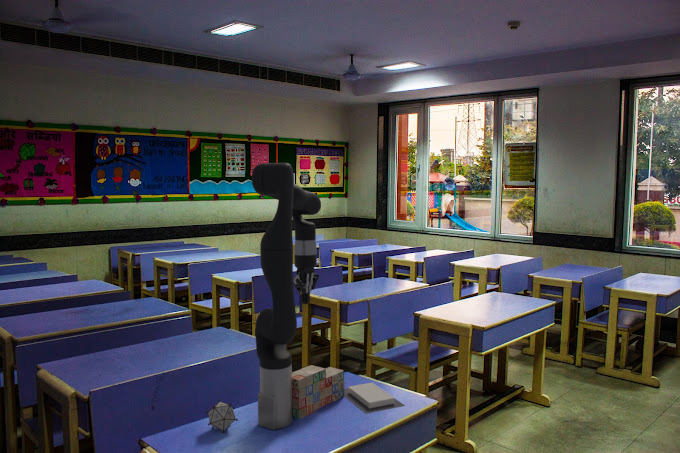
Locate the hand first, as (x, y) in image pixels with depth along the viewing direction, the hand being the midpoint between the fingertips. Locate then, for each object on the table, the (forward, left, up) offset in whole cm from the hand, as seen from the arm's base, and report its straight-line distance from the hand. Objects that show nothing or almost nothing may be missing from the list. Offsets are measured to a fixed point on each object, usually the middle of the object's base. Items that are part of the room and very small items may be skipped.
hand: (305, 303), depth 186 cm
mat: (+2, -24, -29) cm, 38 cm away
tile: (+6, -18, -27) cm, 33 cm away
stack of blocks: (-12, -12, -29) cm, 34 cm away
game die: (-40, 0, -29) cm, 50 cm away
